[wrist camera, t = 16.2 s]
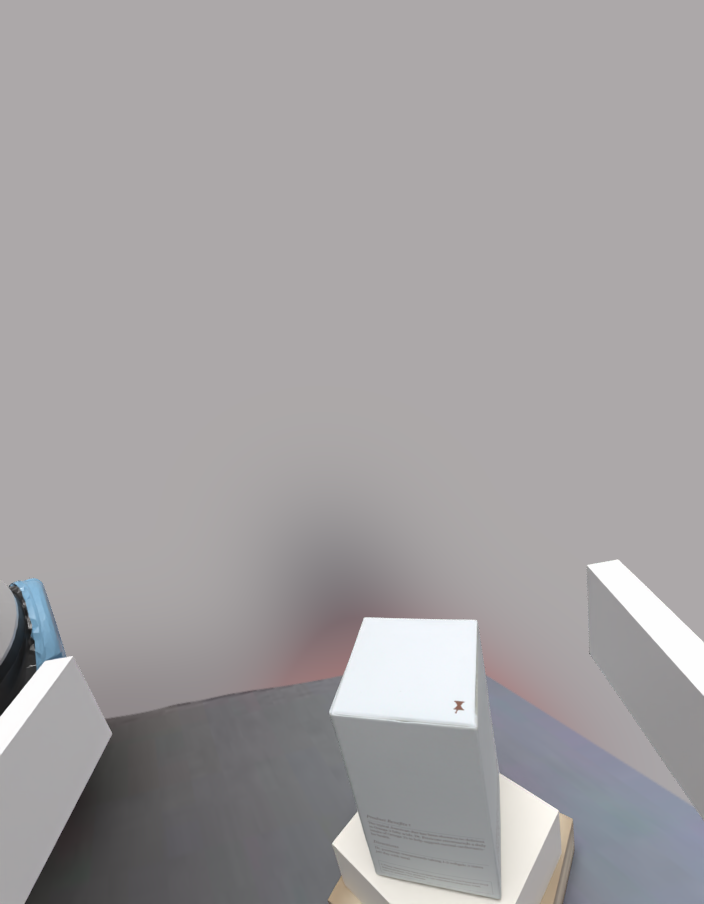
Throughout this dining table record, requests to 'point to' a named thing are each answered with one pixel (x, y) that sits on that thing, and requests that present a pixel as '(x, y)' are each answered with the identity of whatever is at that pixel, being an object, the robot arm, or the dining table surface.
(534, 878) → the tower top block
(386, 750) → the supplement box
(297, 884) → the dining table surface
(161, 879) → the dining table surface
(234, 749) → the dining table surface
